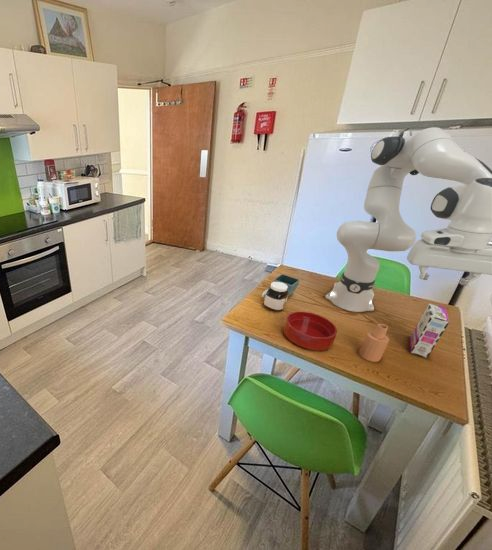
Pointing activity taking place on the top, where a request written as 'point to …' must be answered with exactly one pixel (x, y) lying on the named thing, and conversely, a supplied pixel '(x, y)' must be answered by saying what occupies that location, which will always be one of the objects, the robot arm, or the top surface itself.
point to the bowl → (310, 330)
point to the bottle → (374, 344)
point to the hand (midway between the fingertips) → (442, 281)
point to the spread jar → (276, 296)
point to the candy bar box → (429, 330)
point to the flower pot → (288, 282)
